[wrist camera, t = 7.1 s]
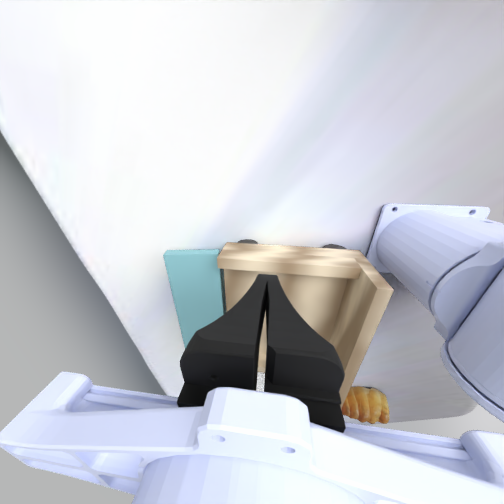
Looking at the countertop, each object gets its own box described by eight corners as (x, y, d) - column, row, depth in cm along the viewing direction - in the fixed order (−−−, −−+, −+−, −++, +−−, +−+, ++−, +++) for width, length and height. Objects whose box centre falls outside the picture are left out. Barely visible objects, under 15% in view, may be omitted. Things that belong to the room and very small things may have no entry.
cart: (355, 245, 22) (393, 290, 14) (325, 347, 30) (341, 408, 22) (229, 238, 23) (206, 274, 16) (234, 336, 31) (220, 390, 24)
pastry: (326, 401, 37) (331, 426, 34) (328, 381, 34) (333, 405, 31) (378, 405, 35) (388, 431, 32) (384, 385, 32) (397, 411, 29)
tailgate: (218, 253, 21) (163, 255, 20) (226, 351, 28) (186, 353, 28) (219, 247, 22) (168, 248, 22) (227, 341, 30) (189, 342, 30)
